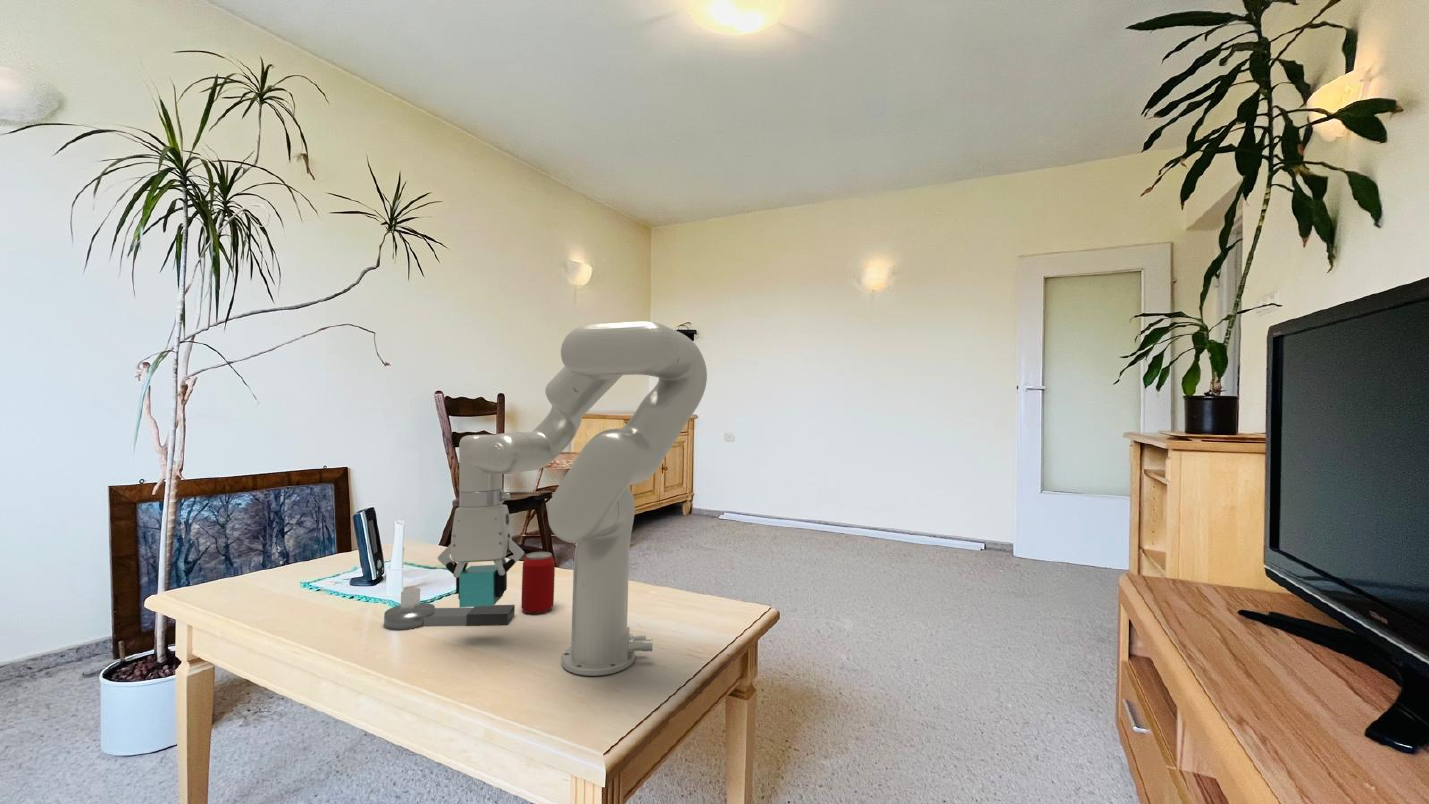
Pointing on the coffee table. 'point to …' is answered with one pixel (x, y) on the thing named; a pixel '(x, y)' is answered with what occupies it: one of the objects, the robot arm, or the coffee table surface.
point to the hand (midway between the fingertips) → (481, 595)
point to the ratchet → (442, 614)
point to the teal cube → (478, 586)
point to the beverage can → (538, 582)
